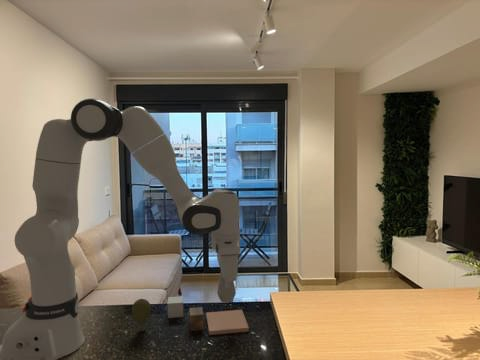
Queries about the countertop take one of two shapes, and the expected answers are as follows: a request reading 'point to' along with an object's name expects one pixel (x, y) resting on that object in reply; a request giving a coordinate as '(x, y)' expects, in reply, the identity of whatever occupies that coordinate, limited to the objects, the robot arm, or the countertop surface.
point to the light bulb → (141, 313)
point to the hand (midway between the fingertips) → (226, 284)
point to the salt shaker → (225, 290)
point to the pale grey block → (175, 307)
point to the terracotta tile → (226, 322)
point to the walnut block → (196, 319)
